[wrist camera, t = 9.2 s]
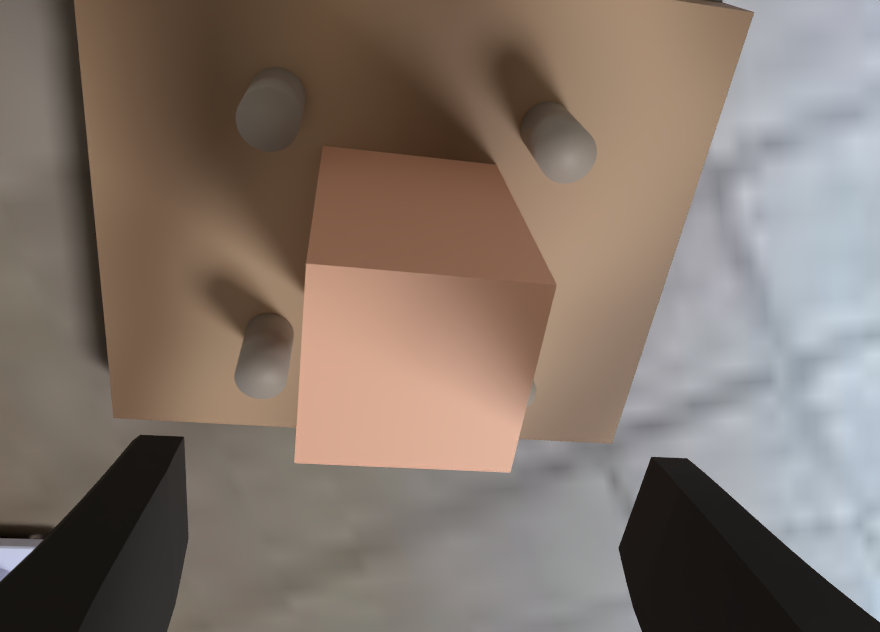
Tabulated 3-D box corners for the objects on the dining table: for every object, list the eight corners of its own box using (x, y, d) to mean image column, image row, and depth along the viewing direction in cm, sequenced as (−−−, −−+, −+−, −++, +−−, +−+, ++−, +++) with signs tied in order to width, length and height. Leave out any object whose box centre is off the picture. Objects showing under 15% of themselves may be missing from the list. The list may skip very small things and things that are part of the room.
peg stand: (128, 385, 21) (89, 468, 18) (90, -94, 15) (22, -90, 12) (597, 412, 23) (633, 491, 20) (724, 2, 17) (802, 27, 14)
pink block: (312, 301, 18) (294, 462, 13) (322, 145, 16) (305, 263, 11) (468, 313, 19) (510, 472, 14) (496, 164, 17) (557, 285, 12)
